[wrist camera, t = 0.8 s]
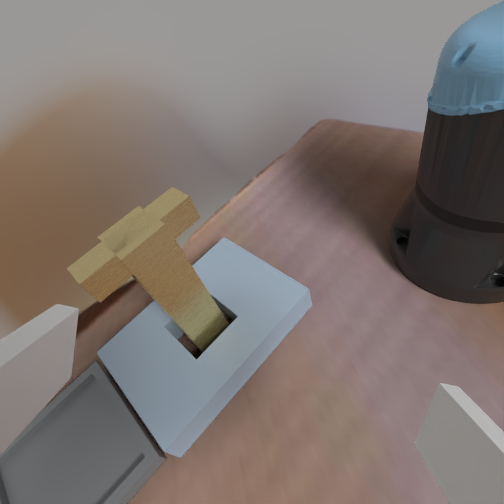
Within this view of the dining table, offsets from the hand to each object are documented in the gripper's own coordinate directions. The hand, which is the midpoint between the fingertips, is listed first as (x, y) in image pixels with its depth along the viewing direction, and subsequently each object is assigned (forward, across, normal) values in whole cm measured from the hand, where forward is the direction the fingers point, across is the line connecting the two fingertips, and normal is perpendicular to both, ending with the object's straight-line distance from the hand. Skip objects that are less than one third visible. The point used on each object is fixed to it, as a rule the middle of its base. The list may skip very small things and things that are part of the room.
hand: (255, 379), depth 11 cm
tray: (+16, -13, -24) cm, 32 cm away
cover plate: (+24, -2, -12) cm, 27 cm away
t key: (+24, -2, -12) cm, 27 cm away
